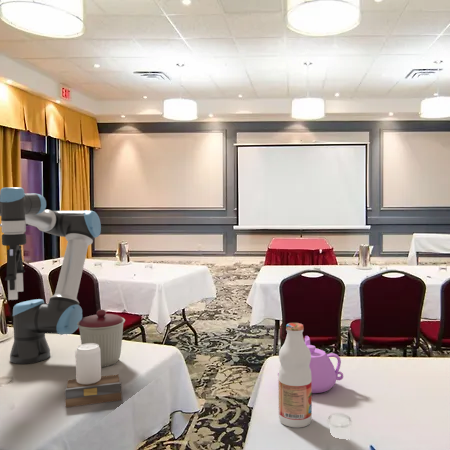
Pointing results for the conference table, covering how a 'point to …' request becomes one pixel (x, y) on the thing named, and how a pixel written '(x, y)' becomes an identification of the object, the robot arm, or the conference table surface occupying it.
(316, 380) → the teapot
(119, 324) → the canister
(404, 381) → the conference table surface
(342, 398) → the conference table surface
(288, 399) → the fruit juice
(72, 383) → the shelf board
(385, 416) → the conference table surface
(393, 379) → the conference table surface
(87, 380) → the beverage can
